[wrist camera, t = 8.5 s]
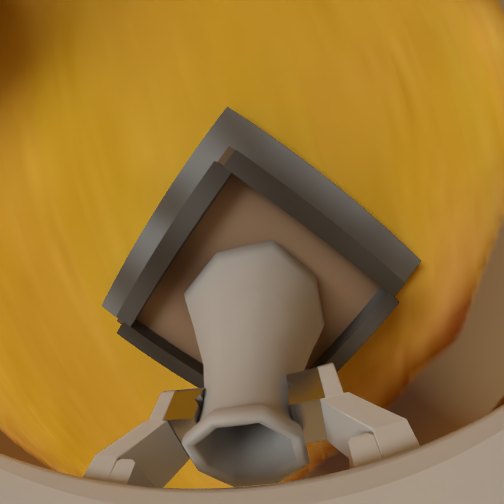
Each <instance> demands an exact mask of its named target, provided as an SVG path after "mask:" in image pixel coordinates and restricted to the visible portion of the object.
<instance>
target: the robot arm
mask: <svg viewBox="0 0 504 504" xmlns="http://www.w3.org/2000/svg"><path fill="white" fill-rule="evenodd" d="M286 379H287V384H288V388H289V389H288V397H289V405H290V409H291V413H292V417H293V421H295V422H296V423H298V424H299V425H300V427H301V428H302V431H303V435H304V439H305V444H308V443H313V442H318V441H323V440H327V441H328V442H329V443H331V444H332V445H333V446H334V447H335V448H337V449H338V450H339V451H340V452H342V453H343V454H344V455H345V456H347V457H348V458H349V462H350V469H348V470H344V471H341V472H336V473H332V474H327V475H323V476H318V477H313V478H308V479H302V480H296V481H290V482H283V483H276V484H268V485H259V486H248V487H235V488H214V489H179V488H163V487H164V486H165V485H166V484H167V483H168V482H169V481H170V480H171V479H172V477H173V476H174V475H175V474H176V473H177V472H178V471H179V470H180V469H181V468H182V467H183V465H184V464H185V463H186V462H187V461H188V460H189V459H190V458H189V455H188V453H187V452H186V450H185V449H184V447H183V445H182V439H183V437H184V435H185V434H186V432H188V431H189V430H190V429H191V428H192V427H194V426H195V425H196V424H197V423H198V422H199V421H200V417H201V412H202V408H203V403H204V390H205V388H196V389H185V390H177V391H176V390H173V391H164V392H162V393H161V394H160V396H159V399H158V401H157V403H156V405H155V407H154V410H153V412H152V414H151V416H150V418H149V421H144V422H143V423H141V424H140V425H138V426H137V427H136V428H134V429H133V430H131V431H130V432H128V433H127V434H126V435H124V436H123V437H121V438H120V439H118V440H117V441H115V442H114V443H112V444H111V445H110V446H108V447H107V448H105V449H104V450H102V451H101V452H99V453H97V454H96V455H95V456H94V458H93V460H92V462H91V464H90V466H89V467H88V469H87V471H86V473H85V475H84V477H78V476H74V475H69V474H65V473H61V472H57V471H53V470H49V469H46V468H42V467H39V466H35V465H32V464H29V463H26V462H23V461H20V460H17V459H14V458H11V457H8V456H6V455H3V454H1V453H0V504H504V404H503V405H501V406H500V407H498V408H496V409H495V410H493V411H491V412H489V413H488V414H486V415H484V416H482V417H480V418H479V419H477V420H475V421H473V422H471V423H469V424H467V425H465V426H464V427H461V428H459V429H457V430H455V431H453V432H451V433H449V434H447V435H444V436H442V437H440V438H438V439H436V440H433V441H431V442H429V443H427V444H424V445H421V446H420V445H419V443H418V441H417V439H416V437H415V435H414V433H413V431H412V429H411V427H410V425H409V423H408V421H407V419H405V418H403V417H400V416H398V415H396V414H394V413H392V412H390V411H388V410H385V409H383V408H381V407H379V406H377V405H375V404H373V403H371V402H369V401H366V400H364V399H362V398H360V397H358V396H356V395H354V394H352V393H350V392H346V393H344V391H343V388H342V385H341V383H340V380H339V377H338V374H337V371H336V369H335V366H334V364H333V363H329V364H325V365H322V366H318V367H316V368H312V369H308V370H304V371H299V372H295V373H290V374H287V375H286Z"/></svg>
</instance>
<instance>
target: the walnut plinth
mask: <svg viewBox="0 0 504 504" xmlns="http://www.w3.org/2000/svg"><path fill="white" fill-rule="evenodd" d="M272 239H273V240H274V241H275V242H276V243H278V244H279V245H280V246H281V247H282V248H284V249H285V250H286V251H287V252H289V253H290V254H291V255H292V256H293V257H295V258H296V259H297V260H298V261H299V262H301V263H302V264H303V265H304V266H305V267H307V268H308V269H309V270H310V271H311V272H313V273H314V274H315V275H316V279H317V285H318V290H319V295H320V301H321V306H322V312H323V318H324V323H325V324H324V326H323V329H322V332H321V334H320V336H319V338H318V340H317V342H316V344H315V346H314V348H313V350H312V352H311V355H310V357H309V360H308V362H307V365H306V367H305V369H304V370H308V369H312V368H316V367H318V366H322V365H325V364H329V363H333V364H334V366H335V369H336V371H338V370H339V369H340V368H341V367H342V366H343V365H344V364H345V363H346V362H347V361H348V360H349V359H350V358H351V357H352V356H353V355H354V354H355V353H356V352H357V351H358V349H359V348H360V347H361V346H362V345H363V344H364V343H365V342H366V341H367V340H368V338H369V337H370V336H371V335H372V334H373V333H374V332H375V331H376V329H377V328H378V327H379V326H380V325H381V324H382V323H383V321H384V320H385V319H386V318H387V317H388V315H389V314H390V313H391V312H392V311H393V309H394V308H395V307H396V306H397V305H398V303H399V301H398V300H397V299H396V298H395V295H396V294H397V293H398V292H399V290H400V289H401V288H402V286H403V285H404V284H405V282H406V280H407V279H408V278H409V276H410V275H411V274H412V272H413V271H414V270H415V268H416V267H417V266H418V264H419V263H420V262H421V260H420V259H419V258H418V257H417V256H416V255H415V254H413V253H412V252H411V251H410V250H409V249H408V248H407V247H406V246H405V245H404V244H403V243H402V242H401V241H400V240H399V239H398V238H396V237H395V236H394V235H393V234H392V233H391V232H390V231H389V230H388V229H387V228H386V227H384V226H383V225H382V224H381V223H380V222H379V221H378V220H377V219H375V218H374V217H373V216H372V215H371V214H370V213H369V212H367V211H366V210H365V209H364V208H363V207H362V206H360V205H359V204H358V203H357V202H356V201H354V200H353V199H352V198H351V197H350V196H348V195H347V194H346V193H345V192H344V191H342V190H341V189H340V188H339V187H337V186H336V185H335V184H334V183H333V182H331V181H330V180H329V179H327V178H326V177H325V176H324V175H322V174H321V173H320V172H319V171H317V170H316V169H315V168H313V167H312V166H311V165H310V164H308V163H307V162H306V161H304V160H303V159H302V158H300V157H299V156H298V155H296V154H295V153H294V152H292V151H291V150H289V149H288V148H287V147H285V146H284V145H283V144H281V143H280V142H278V141H277V140H276V139H274V138H273V137H271V136H270V135H269V134H267V133H266V132H264V131H263V130H261V129H260V128H258V127H257V126H256V125H254V124H253V123H251V122H250V121H248V120H247V119H245V118H244V117H242V116H241V115H239V114H238V113H236V112H235V111H233V110H232V109H230V108H228V107H227V108H226V109H225V110H224V112H223V113H222V114H221V116H220V117H219V118H218V120H217V121H216V122H215V124H214V125H213V126H212V128H211V129H210V130H209V132H208V133H207V134H206V136H205V137H204V139H203V140H202V141H201V143H200V144H199V146H198V147H197V148H196V150H195V151H194V153H193V154H192V155H191V157H190V158H189V160H188V161H187V163H186V164H185V166H184V167H183V169H182V170H181V171H180V173H179V174H178V176H177V177H176V179H175V180H174V182H173V183H172V185H171V187H170V188H169V190H168V191H167V193H166V194H165V196H164V197H163V199H162V200H161V202H160V204H159V205H158V207H157V208H156V210H155V212H154V213H153V215H152V216H151V218H150V220H149V221H148V223H147V225H146V226H145V228H144V230H143V231H142V233H141V235H140V236H139V238H138V240H137V242H136V243H135V245H134V247H133V248H132V250H131V252H130V254H129V255H128V257H127V259H126V261H125V263H124V264H123V266H122V268H121V270H120V272H119V274H118V275H117V277H116V279H115V281H114V283H113V285H112V287H111V289H110V290H109V292H108V294H107V296H106V298H105V300H104V302H103V304H102V306H103V307H104V308H105V309H106V310H108V311H109V312H110V313H112V314H113V315H114V316H116V317H117V318H118V320H117V321H118V322H119V323H120V324H122V325H121V326H120V328H119V330H118V332H117V334H119V335H120V336H121V337H123V338H124V339H125V340H127V341H128V342H129V343H131V344H132V345H134V346H135V347H136V348H138V349H139V350H141V351H142V352H144V353H145V354H147V355H148V356H149V357H151V358H152V359H154V360H155V361H157V362H158V363H160V364H161V365H163V366H164V367H166V368H168V369H169V370H171V371H172V372H174V373H175V374H177V375H178V376H180V377H182V378H183V379H185V380H187V381H188V382H190V383H191V384H193V385H195V386H196V387H198V388H204V365H203V361H202V358H201V354H200V350H199V346H198V342H197V338H196V334H195V330H194V327H193V323H192V320H191V317H190V314H189V310H188V307H187V304H186V300H185V296H184V293H185V292H186V290H187V289H188V288H189V287H190V285H191V284H192V283H193V282H194V280H195V279H196V278H197V276H198V275H199V274H200V273H201V271H202V270H203V269H204V268H205V266H206V265H207V264H208V263H209V261H210V260H211V259H212V258H213V256H214V255H215V254H216V253H218V252H222V251H226V250H230V249H234V248H239V247H243V246H247V245H251V244H255V243H260V242H264V241H268V240H272Z"/></svg>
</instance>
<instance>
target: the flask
mask: <svg viewBox="0 0 504 504" xmlns="http://www.w3.org/2000/svg"><path fill="white" fill-rule="evenodd" d="M184 296H185V300H186V304H187V307H188V310H189V314H190V317H191V320H192V323H193V327H194V330H195V334H196V338H197V342H198V346H199V350H200V354H201V358H202V361H203V365H204V388H205V390H204V403H203V408H202V412H201V417H200V421H199V422H198V423H197V424H196V425H195V426H194V427H192V428H191V429H190V430H189V431H188V432H186V434H185V435H184V437H183V439H182V445H183V447H184V449H185V450H186V452H187V453H188V455H189V457H190V458H191V460H192V461H193V463H194V464H195V466H196V468H197V469H198V471H200V472H202V473H204V474H207V475H209V476H211V477H213V478H215V479H217V480H220V481H222V482H224V483H226V484H229V485H231V486H234V487H242V486H253V485H263V484H272V483H278V482H280V481H281V480H283V479H285V478H286V477H288V476H290V475H292V474H293V473H295V472H297V471H298V470H300V469H301V468H303V467H305V466H306V465H308V464H309V456H308V452H307V448H306V444H305V439H304V435H303V431H302V428H301V427H300V425H299V424H298V423H296V422H295V421H293V417H292V413H291V409H290V405H289V397H288V389H289V388H288V384H287V379H286V375H287V374H290V373H295V372H299V371H304V369H305V367H306V365H307V362H308V360H309V357H310V355H311V352H312V350H313V348H314V346H315V344H316V342H317V340H318V338H319V336H320V334H321V332H322V329H323V326H324V324H325V323H324V318H323V312H322V306H321V301H320V295H319V290H318V285H317V279H316V275H315V274H314V273H313V272H311V271H310V270H309V269H308V268H307V267H305V266H304V265H303V264H302V263H301V262H299V261H298V260H297V259H296V258H295V257H293V256H292V255H291V254H290V253H289V252H287V251H286V250H285V249H284V248H282V247H281V246H280V245H279V244H278V243H276V242H275V241H274V240H273V239H272V240H268V241H264V242H260V243H255V244H251V245H247V246H243V247H239V248H234V249H230V250H226V251H222V252H218V253H216V254H215V255H214V256H213V258H212V259H211V260H210V261H209V263H208V264H207V265H206V266H205V268H204V269H203V270H202V271H201V273H200V274H199V275H198V276H197V278H196V279H195V280H194V282H193V283H192V284H191V285H190V287H189V288H188V289H187V290H186V292H185V293H184Z"/></svg>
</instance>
